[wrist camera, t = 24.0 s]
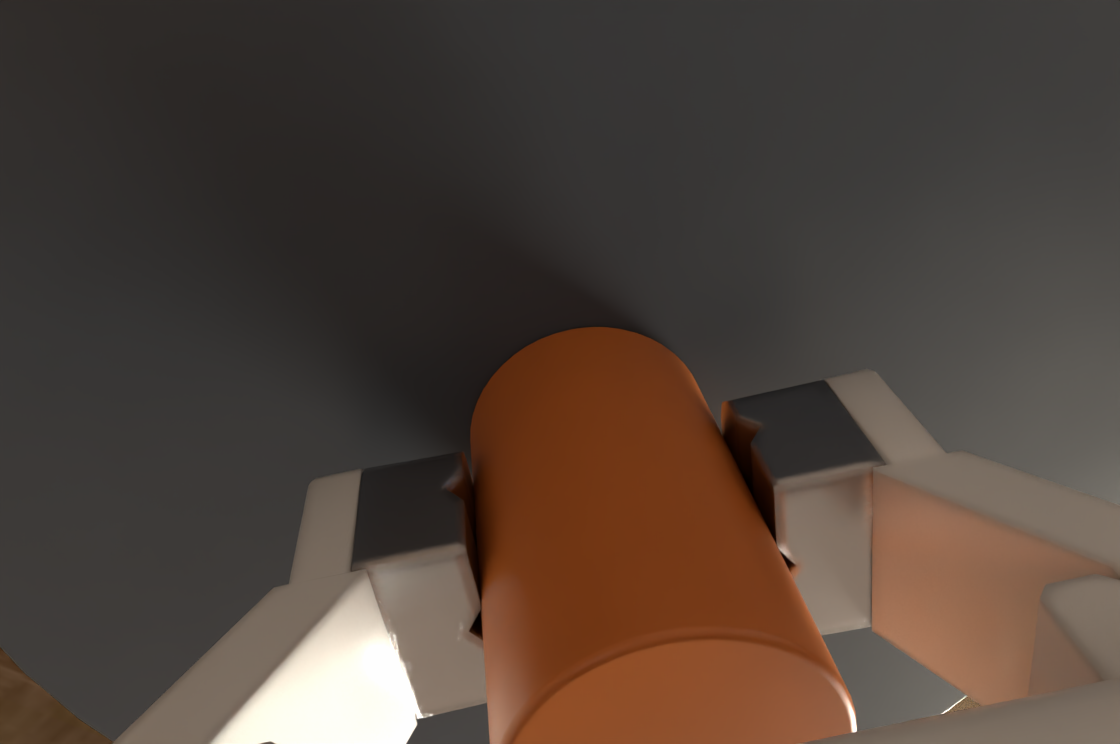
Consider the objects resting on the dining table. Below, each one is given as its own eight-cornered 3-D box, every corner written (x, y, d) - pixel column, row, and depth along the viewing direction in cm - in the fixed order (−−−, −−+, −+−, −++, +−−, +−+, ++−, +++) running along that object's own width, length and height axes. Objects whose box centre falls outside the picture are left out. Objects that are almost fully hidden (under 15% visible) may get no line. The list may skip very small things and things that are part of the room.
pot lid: (1295, -504, 8) (2560, -1013, 3) (1086, 687, 15) (1389, 1078, 11) (-435, -223, 8) (-1893, -334, 3) (177, 869, 15) (56, 1365, 10)
